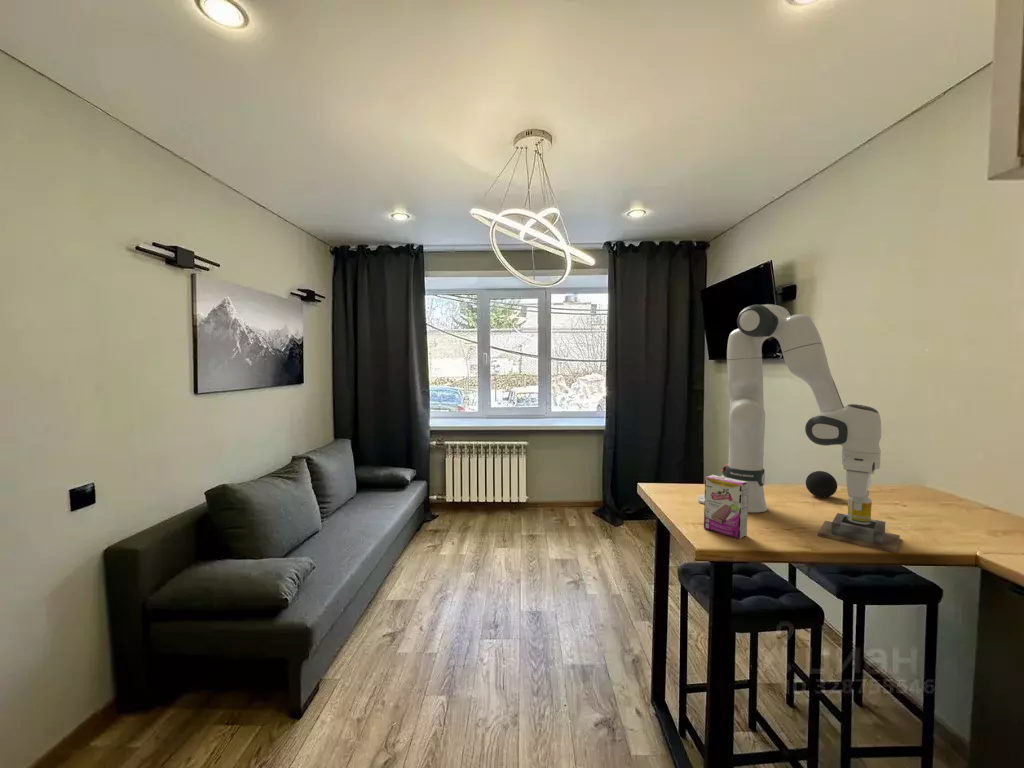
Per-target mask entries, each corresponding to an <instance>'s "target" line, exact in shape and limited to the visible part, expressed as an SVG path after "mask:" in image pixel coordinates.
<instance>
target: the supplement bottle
mask: <svg viewBox="0 0 1024 768" xmlns="http://www.w3.org/2000/svg"><path fill="white" fill-rule="evenodd" d="M869 496H870V491H869V490H868V491H867V493H866V495H865V498H864V499H863V500H862V510H861V511H858V510H855V509H854V501H853V498H851V497H849V496H848V501H847V503H848V504H847V515H848V520H849V521H850V522H853V523H856V524H861V525H868V524H870V522H871V519H872V505H873V504H872V499H871V498H870V497H869Z"/></svg>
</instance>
